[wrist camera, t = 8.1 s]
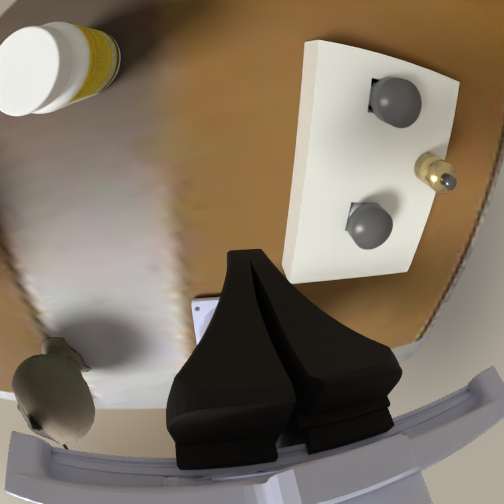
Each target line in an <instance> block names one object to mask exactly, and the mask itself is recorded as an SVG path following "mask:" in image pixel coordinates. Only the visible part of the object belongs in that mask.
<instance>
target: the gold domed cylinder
mask: <svg viewBox="0 0 504 504" xmlns="http://www.w3.org/2000/svg"><path fill="white" fill-rule="evenodd" d="M414 172H415V175H416V177H417V178H418V179H419V180H421V181H422V182H423V183H425V184H426V185H427V186H429V187H430V188H431V189H433V190H434V191H435V192H437V193H439V194H444V193H446V192H448V191H449V190H452V189H454V188H455V186H456V179H455V178H456V171H455V168H454V167H453V166H452V165H451V164H449V163H448V162H446V161H444V160H443V159H441V158H439V157H438V156H436V155H434V154H432V153H430V152H425V153H423V154H421V155H420V156H419V157H418V159H417V160H416V162H415V166H414Z"/></svg>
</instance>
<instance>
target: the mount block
mask: <svg viewBox="0 0 504 504" xmlns="http://www.w3.org/2000/svg"><path fill="white" fill-rule="evenodd" d="M388 76H392V77H397V78H402V79H406V80H409V81H410V82H412V83H413V84H414V85H415V86H416V87H417V89H418V90H419V93H420V96H421V101H422V107H421V112H420V115H419V117H418V119H417V120H416V121H415V122H414V123H413V124H412V125H411V126H409V127H406V128H396V127H394V126H392V125H389V124H387V123H385V122H383V121H381V120H380V119H379V118H378V117H377V116H376V115H375V114H374V112H373V109H368V105H369V97H370V90H371V81H372V79H377V80H380V79H382V78H384V77H388ZM458 90H459V82H458V81H456V80H453V79H451V78H449V77H446V76H444V75H441V74H439V73H436V72H434V71H431V70H429V69H426V68H423V67H420V66H418V65H415V64H412V63H409V62H406V61H403V60H400V59H397V58H393V57H390V56H387V55H383V54H380V53H376V52H372V51H369V50H365V49H361V48H357V47H352V46H348V45H343V44H338V43H333V42H328V41H322V40H314V41H308V42H305V45H304V59H303V72H302V84H301V96H300V107H299V118H298V129H297V139H296V149H295V159H294V168H293V177H292V186H291V195H290V204H289V212H288V220H287V228H286V236H285V244H284V252H283V260H282V267H283V269H284V272H285V274H286V277H287V280H288V281H289V282H290V283H291V284H295V283H306V282H317V281H327V280H338V279H347V278H357V277H366V276H375V275H384V274H393V273H401V272H407V271H408V269H409V267H410V264H411V262H412V259H413V257H414V254H415V251H416V249H417V246H418V244H419V241H420V238H421V235H422V233H423V230H424V227H425V224H426V221H427V218H428V215H429V212H430V209H431V206H432V203H433V200H434V196H435V193H436V192H435V191H434V190H433V189H431V188H430V187H429V186H427V185H426V184H425V183H423V182H422V181H421V180H419V179H418V178H417V177H416V175H415V172H414V166H415V162H416V160H417V159H418V157H419V156H420V155H421V154H423V153H425V152H430V153H432V154H434V155H436V156H438V157H439V158H441V159H443V160H445V156H446V152H447V148H448V144H449V139H450V135H451V130H452V125H453V120H454V114H455V109H456V103H457V97H458ZM351 202H361V203H365V204H366V203H376V204H379V205H380V206H381V207H382V208H383V209H384V210H385V211H386V212H387V213H388V214H389V215H390V216H391V218H392V220H393V228H392V232H391V234H390V236H389V237H388V239H387V240H386V241H385V242H384V243H383V244H382V245H380V246H379V247H377V248H374V249H370V250H365V249H361V248H360V247H358V246H357V244H356V243H355V242H354V240H353V239H352V238H351V236H350V235H349V233H348V230H347V224H348V220H349V219H348V215H349V210H350V206H351Z"/></svg>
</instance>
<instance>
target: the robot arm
mask: <svg viewBox="0 0 504 504" xmlns="http://www.w3.org/2000/svg"><path fill="white" fill-rule="evenodd" d="M191 304H192V313H193V320H194V327H195V334H196V341H197V346H196V348H195V350H194V351H193V353H192V354H191V356H190V357H189V359H188V360H187V362H186V363H185V364H184V366H183V367H182V368H181V370H180V371H179V372H178V374H177V375H176V376H175V378H174V381H173V384H172V387H171V390H170V393H169V397H168V401H167V408H166V424H167V430H168V432H169V433H170V435H171V437H172V438H173V440H174V442H175V447H176V458H144V457H126V456H114V455H104V454H94V453H87V452H80V451H74V450H68V449H62V448H57V447H52V446H51V445H50V444H49V443H47V442H46V441H44V440H43V439H40V438H38V437H35V436H31V435H27V434H23V433H19V432H15V431H12V433H11V438H10V444H9V451H8V459H7V468H6V479H5V491H6V493H8V494H11V495H13V496H15V497H18V498H21V499H23V500H26V501H29V502H32V503H35V504H432V501H431V498H430V495H429V493H428V490H427V487H426V484H425V481H424V479H423V476H422V474H421V471H422V470H424V469H426V468H428V467H430V466H432V465H434V464H436V463H437V462H439V461H441V460H443V459H444V458H446V457H448V456H450V455H451V454H453V453H454V452H456V451H458V450H459V449H461V448H463V447H464V446H466V445H467V444H469V443H470V442H472V441H473V440H475V439H476V438H478V437H479V436H481V435H482V434H484V433H485V432H486V431H488V430H489V429H490V428H492V427H493V426H494V425H496V424H497V423H498V422H499V421H501V420H502V419H503V418H504V383H503V381H502V379H501V378H500V376H499V374H498V372H497V371H496V369H495V367H494V366H492V367H490V368H488V369H486V370H484V371H482V372H481V373H479V374H478V375H477V376H475V377H474V378H473V379H472V380H471V381H470V382H469V383H468V385H467V386H465V387H463V388H461V389H459V390H458V391H455V392H453V393H451V394H449V395H447V396H445V397H443V398H441V399H439V400H437V401H434V402H432V403H430V404H427V405H425V406H423V407H421V408H418V409H415V410H413V411H410V412H408V413H405V414H403V415H400V416H398V417H395V418H392V417H391V415H390V413H389V410H388V408H387V407H389V406H390V402H389V399H388V397H387V395H388V394H389V393H390V392H391V390H392V389H393V388H394V387H395V385H396V384H397V383H398V381H399V380H400V378H401V376H402V369H401V367H400V366H399V363H398V361H397V359H396V357H395V355H394V354H393V352H392V351H391V349H390V348H389V347H388V346H385V345H383V344H381V343H378V342H376V341H374V340H371V339H369V338H367V337H365V336H363V335H361V334H359V333H357V332H355V331H353V330H351V329H350V328H348V327H346V326H345V325H343V324H341V323H340V322H338V321H337V320H335V319H334V318H332V317H330V316H329V315H328V314H326V313H325V312H323V311H322V310H321V309H319V308H318V307H317V306H316V305H314V304H313V303H312V302H310V301H309V300H308V299H307V298H306V297H305V296H304V295H303V294H302V293H300V292H299V291H298V290H297V289H296V288H295V287H294V286H293V285H292V284H291V283H290V282H289V281H288V280H287V279H286V277H285V276H284V275H283V274H282V273H281V272H280V271H279V270H278V269H277V267H276V266H275V265H274V264H273V263H272V262H271V260H270V259H269V258H268V257H267V255H266V254H265V253H264V252H263V251H262V250H261V249H249V250H232V251H229V252H228V253H227V273H226V277H225V282H224V286H223V289H222V292H221V295H220V297H212V298H196V299H193V300H192V303H191ZM196 307H199V308H196Z"/></svg>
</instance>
